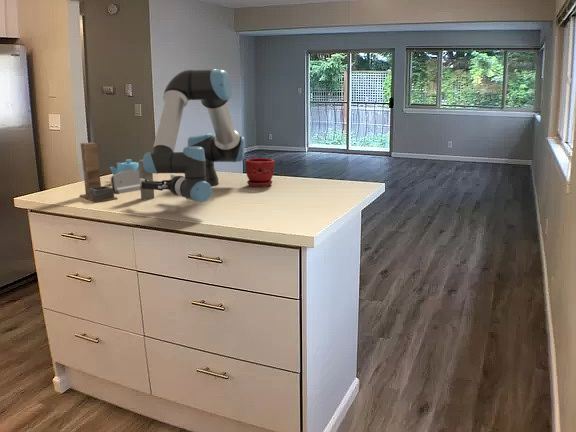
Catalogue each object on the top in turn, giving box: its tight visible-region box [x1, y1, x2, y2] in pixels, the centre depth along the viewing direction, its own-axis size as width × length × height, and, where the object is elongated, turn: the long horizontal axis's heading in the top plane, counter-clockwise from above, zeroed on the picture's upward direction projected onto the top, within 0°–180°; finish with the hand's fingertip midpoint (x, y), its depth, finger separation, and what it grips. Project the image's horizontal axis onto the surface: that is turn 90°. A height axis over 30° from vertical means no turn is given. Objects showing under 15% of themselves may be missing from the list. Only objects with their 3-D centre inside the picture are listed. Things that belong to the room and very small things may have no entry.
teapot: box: [109, 158, 139, 176], centre depth 276 cm, size 15×15×11 cm
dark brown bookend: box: [79, 142, 118, 203], centre depth 238 cm, size 17×10×23 cm, turn 40°
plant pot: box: [245, 158, 275, 188], centre depth 261 cm, size 13×13×12 cm
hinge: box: [110, 170, 141, 195], centre depth 256 cm, size 17×5×10 cm, turn 138°
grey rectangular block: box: [137, 159, 155, 200], centre depth 236 cm, size 4×4×16 cm
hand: (156, 179), depth 229 cm, fingers open, 13 cm apart
